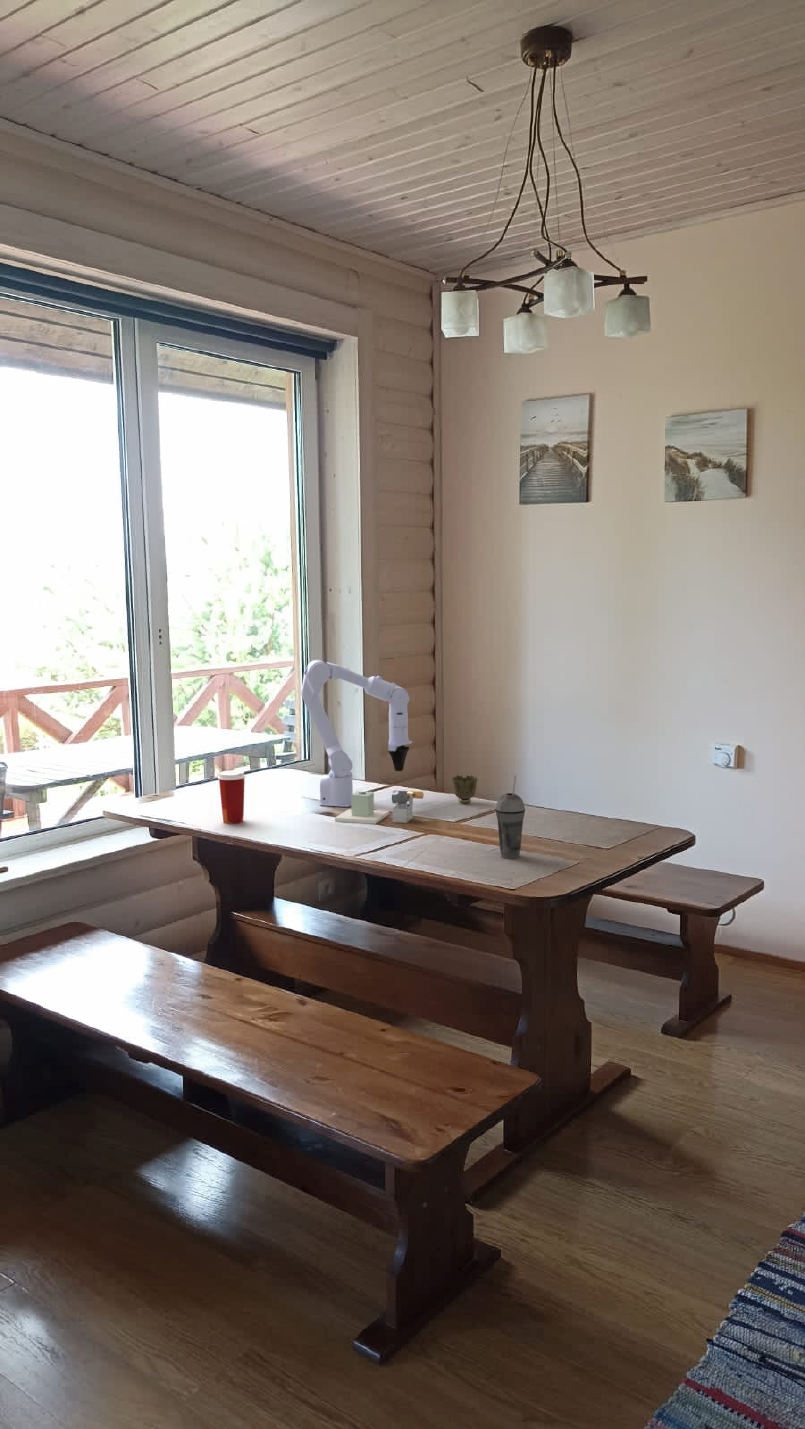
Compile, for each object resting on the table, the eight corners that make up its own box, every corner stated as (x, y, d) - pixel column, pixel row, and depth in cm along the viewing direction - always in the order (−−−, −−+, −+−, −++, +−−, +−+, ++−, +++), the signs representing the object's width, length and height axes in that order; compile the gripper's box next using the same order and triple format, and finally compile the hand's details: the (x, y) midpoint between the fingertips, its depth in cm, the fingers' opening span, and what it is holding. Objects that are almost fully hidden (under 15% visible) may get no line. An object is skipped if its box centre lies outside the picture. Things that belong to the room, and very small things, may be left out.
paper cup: (252, 819, 285) (250, 771, 283) (237, 825, 278) (235, 776, 276) (229, 817, 288) (227, 769, 286) (213, 823, 281) (211, 774, 279)
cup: (477, 800, 305) (477, 774, 304) (477, 806, 298) (476, 779, 297) (453, 800, 306) (452, 774, 305) (451, 805, 299) (451, 779, 298)
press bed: (335, 821, 281) (335, 817, 281) (349, 811, 293) (349, 808, 293) (375, 823, 278) (375, 820, 278) (388, 814, 289) (388, 810, 289)
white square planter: (392, 822, 280) (391, 798, 279) (398, 817, 285) (398, 794, 284) (407, 823, 278) (406, 799, 277) (413, 818, 284) (413, 795, 283)
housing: (351, 815, 283) (351, 794, 283) (357, 811, 288) (357, 790, 287) (368, 816, 282) (368, 795, 281) (374, 812, 287) (373, 791, 286)
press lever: (389, 803, 278) (389, 790, 278) (407, 798, 294) (407, 786, 294) (406, 804, 276) (406, 791, 276) (423, 799, 293) (423, 787, 293)
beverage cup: (492, 852, 247) (492, 773, 245) (521, 851, 248) (522, 772, 245) (498, 861, 240) (498, 778, 237) (528, 859, 241) (528, 778, 238)
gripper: (404, 730, 295) (404, 775, 297) (417, 723, 309) (418, 766, 310) (381, 729, 297) (382, 774, 299) (395, 722, 311) (396, 766, 312)
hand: (399, 770), depth 305 cm, fingers closed
